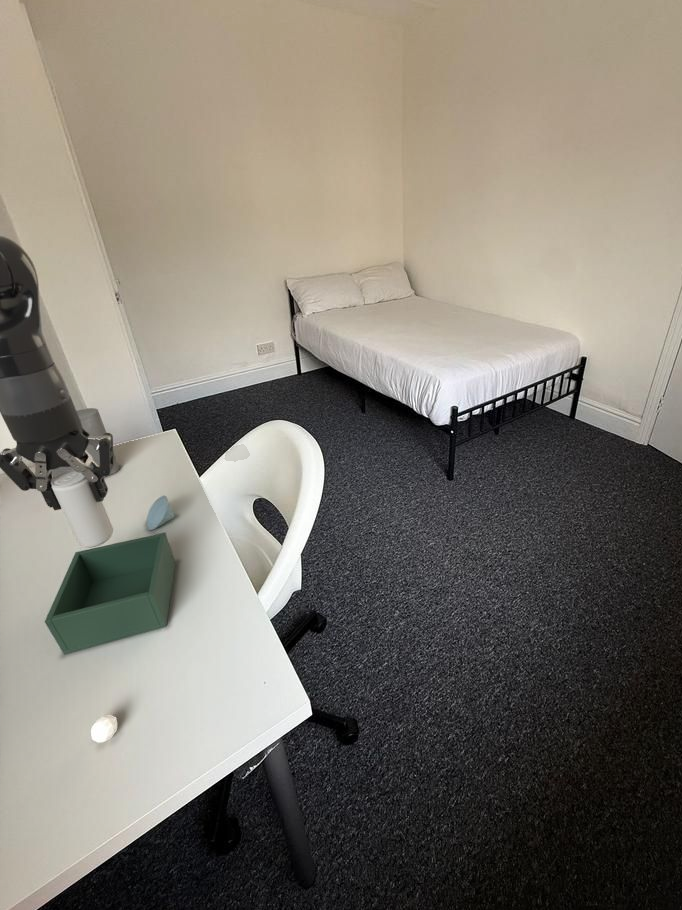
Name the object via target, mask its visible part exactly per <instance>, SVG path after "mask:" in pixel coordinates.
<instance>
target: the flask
mask: <svg viewBox="0 0 682 910" xmlns="http://www.w3.org/2000/svg"><path fill="white" fill-rule="evenodd" d="M76 411H77V414H78V416H79V419H80V421H81V425H82V427H83V429H84V430H85V431H86V432H87V433H89V435H90V436H103V435H104V434H105V433H107V430H106V428H105V425H104V422H103V420H102V418H101V414H100V412H99V409H97V408H94V407H89V408H88V407H87V408H83V409H79V410H76ZM86 450H87V452H88V453H89V454H90V455H91V456H92V457H93V460H94V461H95V462H96V463H97V465H98V466H100V457H99V452H97V451H96V450H95V449H94V447H93V445H91V444H88V446H87V448H86ZM114 451H115V450H113V455H114V466H113V468H112V470H111V472H110V474H109V475H108V476H103V478H106V477H110V476H112V475H114V474H116V473H117V472H118V471H119V470H120V465H119V462H118V460H117V457H116V454H115V452H114ZM80 461H81V460H80ZM70 469H73V468H72V467H59V468H57V469H53V478H54V477H55V476H57V475H58V474H60V473H62V472H64V471H67V470H70Z"/></svg>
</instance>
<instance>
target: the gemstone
mask: <svg viewBox="0 0 682 910" xmlns="http://www.w3.org/2000/svg"><path fill="white" fill-rule="evenodd" d="M175 517H176V516H175V513H174V511H173V508H172V506H171V504H170V501H169V498H168V496H166V495H161V496H160V497H158V498H157V499H156V500H155V501H154V502H153V503H152V505H151V506H150V507H149V510H148V512H147V515H146V525H147V526H146V527H147V528H148V530H149V531H153V530H155V529H158V528H159V527H160V526H162V525H164V524H166V523H167V522H169V521H171V520H172V519H175Z"/></svg>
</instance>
